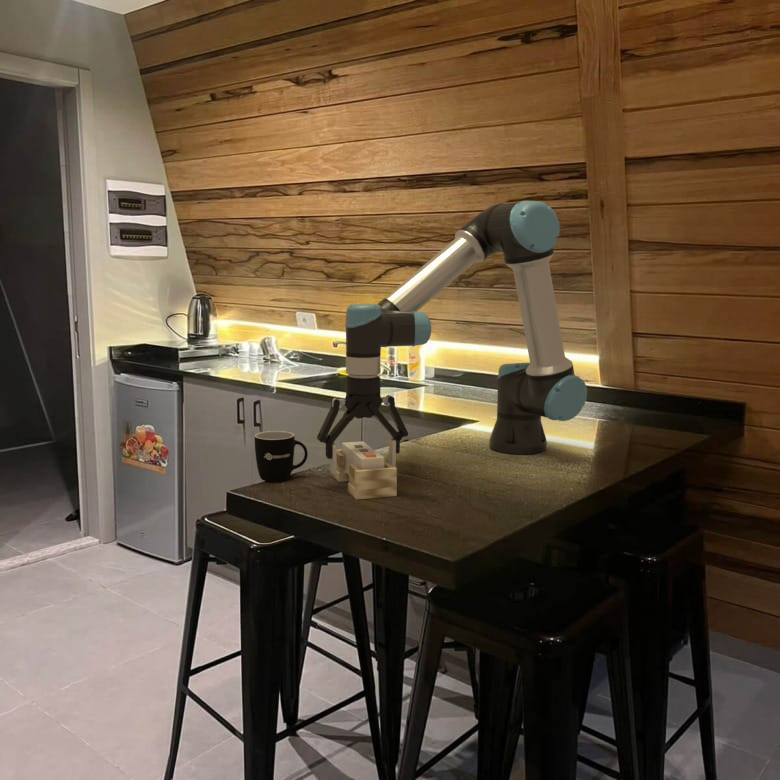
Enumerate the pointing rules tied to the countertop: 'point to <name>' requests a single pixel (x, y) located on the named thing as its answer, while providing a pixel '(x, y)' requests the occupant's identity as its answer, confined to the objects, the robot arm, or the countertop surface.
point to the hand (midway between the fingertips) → (363, 470)
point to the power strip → (361, 456)
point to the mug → (276, 455)
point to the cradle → (367, 480)
